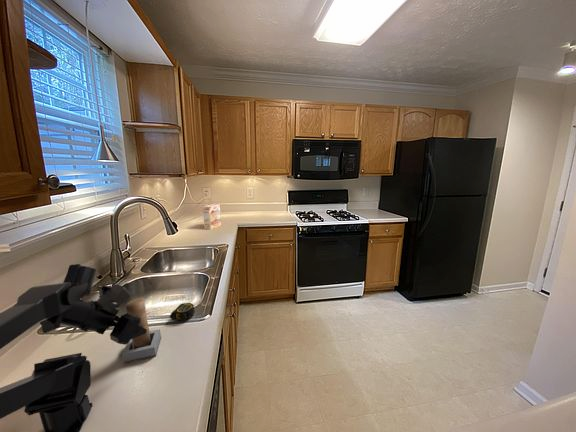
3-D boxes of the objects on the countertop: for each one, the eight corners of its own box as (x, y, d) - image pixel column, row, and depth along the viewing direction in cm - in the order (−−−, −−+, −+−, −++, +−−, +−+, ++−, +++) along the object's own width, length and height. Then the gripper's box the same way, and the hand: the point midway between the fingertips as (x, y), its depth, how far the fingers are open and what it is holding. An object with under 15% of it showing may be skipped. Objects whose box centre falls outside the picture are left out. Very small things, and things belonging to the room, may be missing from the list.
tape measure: (182, 310, 91) (180, 301, 90) (198, 311, 90) (197, 302, 89) (170, 321, 85) (169, 312, 84) (188, 323, 83) (187, 313, 83)
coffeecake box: (211, 229, 203) (208, 206, 199) (204, 229, 206) (201, 206, 202) (221, 225, 217) (220, 203, 213) (215, 224, 220) (213, 203, 215)
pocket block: (123, 363, 67) (121, 354, 66) (132, 343, 74) (130, 335, 74) (155, 356, 69) (154, 347, 68) (161, 337, 77) (159, 329, 76)
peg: (132, 355, 69) (123, 309, 65) (136, 344, 73) (128, 300, 70) (149, 351, 70) (141, 305, 67) (153, 341, 74) (145, 297, 71)
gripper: (126, 288, 56) (172, 306, 68) (84, 274, 65) (132, 292, 77) (94, 339, 51) (150, 349, 63) (53, 317, 59) (110, 329, 71)
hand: (135, 327), depth 69 cm, fingers open, 9 cm apart
